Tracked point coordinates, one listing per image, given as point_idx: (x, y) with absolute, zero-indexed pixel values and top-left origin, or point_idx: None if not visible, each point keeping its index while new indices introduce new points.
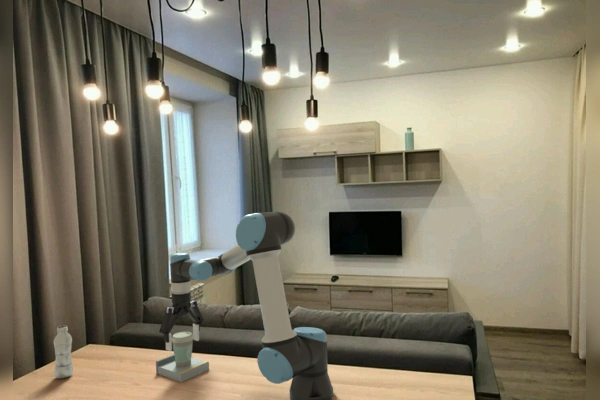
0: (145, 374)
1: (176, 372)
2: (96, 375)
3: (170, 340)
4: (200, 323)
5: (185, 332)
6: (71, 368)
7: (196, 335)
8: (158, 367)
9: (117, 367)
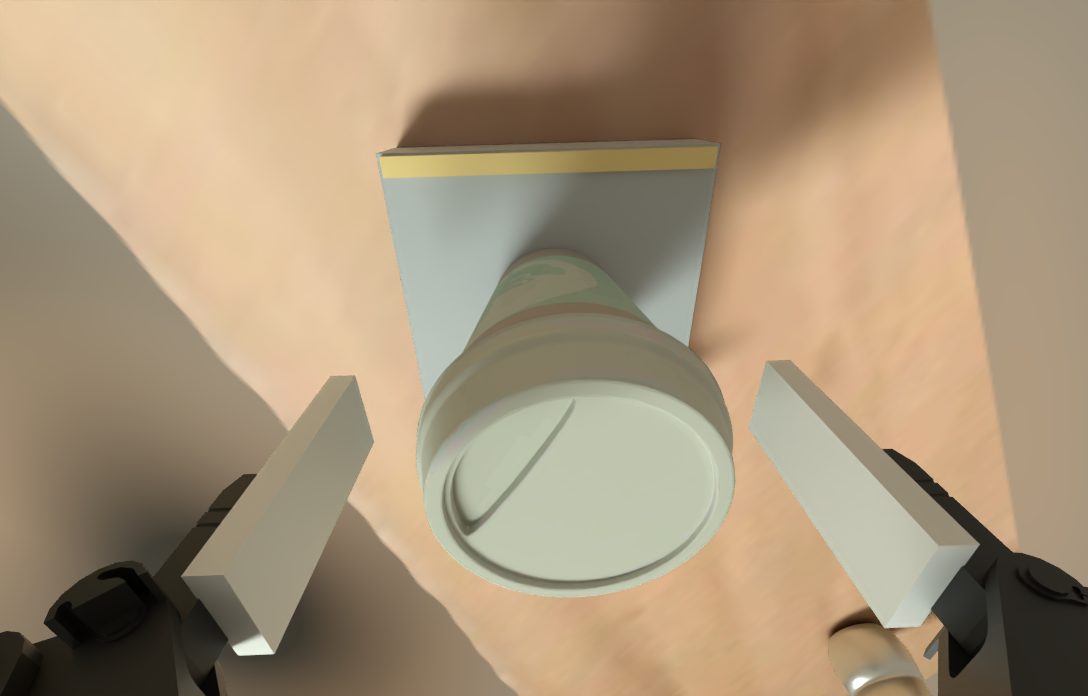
0: None
1: (707, 213)
2: (798, 574)
3: (875, 449)
4: (112, 581)
5: (473, 544)
6: (868, 657)
7: (331, 437)
8: None
9: (691, 580)
